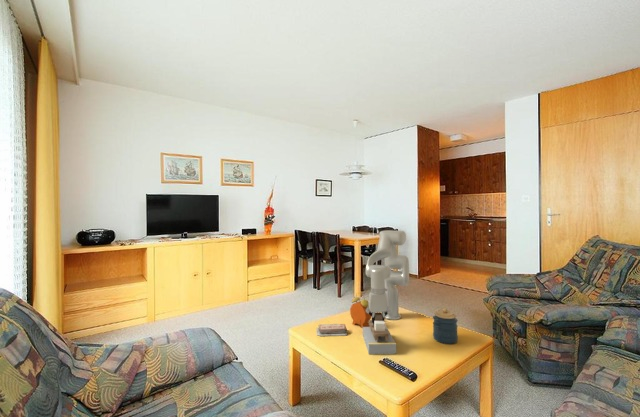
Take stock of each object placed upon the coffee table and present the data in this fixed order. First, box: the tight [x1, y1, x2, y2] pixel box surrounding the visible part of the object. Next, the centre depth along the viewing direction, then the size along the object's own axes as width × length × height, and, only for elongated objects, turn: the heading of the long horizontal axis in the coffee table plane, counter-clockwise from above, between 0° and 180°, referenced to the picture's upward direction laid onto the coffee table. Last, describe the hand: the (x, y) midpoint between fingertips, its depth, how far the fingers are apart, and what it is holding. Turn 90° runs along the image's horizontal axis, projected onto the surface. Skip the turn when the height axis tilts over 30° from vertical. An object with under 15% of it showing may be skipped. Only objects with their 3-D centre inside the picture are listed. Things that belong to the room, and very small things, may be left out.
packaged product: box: [316, 323, 348, 337], centre depth 177 cm, size 18×5×10 cm
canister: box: [432, 307, 459, 345], centre depth 167 cm, size 13×13×18 cm
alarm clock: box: [349, 292, 372, 329], centre depth 188 cm, size 13×6×20 cm, turn 40°
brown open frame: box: [368, 312, 389, 341], centre depth 162 cm, size 19×7×10 cm, turn 0°
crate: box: [374, 321, 386, 331], centre depth 158 cm, size 4×5×4 cm
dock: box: [362, 326, 397, 355], centre depth 162 cm, size 22×14×5 cm, turn 0°
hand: (378, 323), depth 162 cm, fingers closed on brown open frame, 4 cm apart
